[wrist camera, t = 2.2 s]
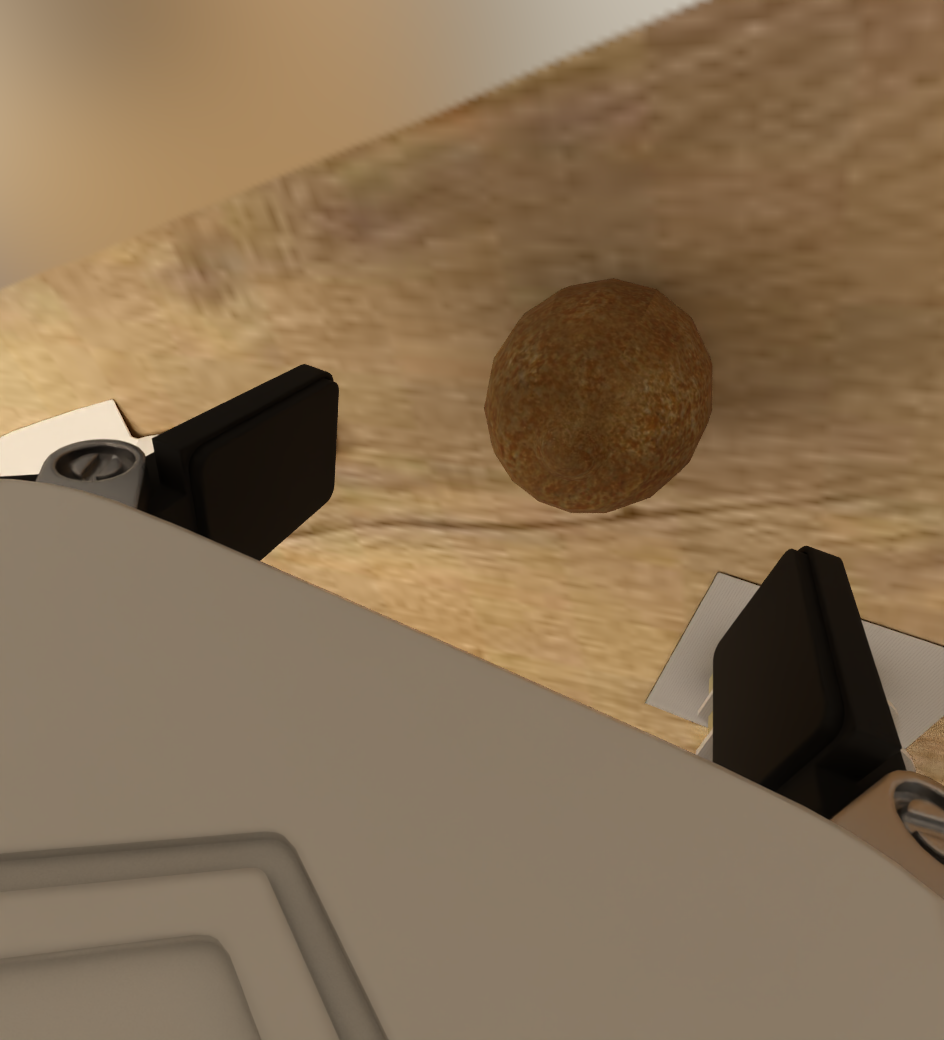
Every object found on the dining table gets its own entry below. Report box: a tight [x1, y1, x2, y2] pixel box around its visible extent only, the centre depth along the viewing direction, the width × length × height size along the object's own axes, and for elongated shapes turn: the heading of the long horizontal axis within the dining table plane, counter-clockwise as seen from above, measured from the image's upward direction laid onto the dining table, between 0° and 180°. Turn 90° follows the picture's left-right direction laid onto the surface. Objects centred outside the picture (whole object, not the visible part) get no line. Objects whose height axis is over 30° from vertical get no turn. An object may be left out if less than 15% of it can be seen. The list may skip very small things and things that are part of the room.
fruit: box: [484, 278, 712, 513], centre depth 16 cm, size 6×6×8 cm
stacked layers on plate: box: [645, 572, 944, 772], centre depth 21 cm, size 10×9×6 cm
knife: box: [0, 399, 160, 476], centre depth 31 cm, size 1×33×4 cm
